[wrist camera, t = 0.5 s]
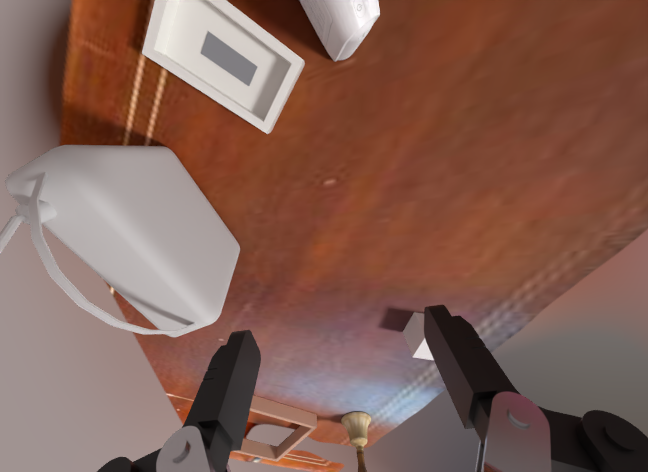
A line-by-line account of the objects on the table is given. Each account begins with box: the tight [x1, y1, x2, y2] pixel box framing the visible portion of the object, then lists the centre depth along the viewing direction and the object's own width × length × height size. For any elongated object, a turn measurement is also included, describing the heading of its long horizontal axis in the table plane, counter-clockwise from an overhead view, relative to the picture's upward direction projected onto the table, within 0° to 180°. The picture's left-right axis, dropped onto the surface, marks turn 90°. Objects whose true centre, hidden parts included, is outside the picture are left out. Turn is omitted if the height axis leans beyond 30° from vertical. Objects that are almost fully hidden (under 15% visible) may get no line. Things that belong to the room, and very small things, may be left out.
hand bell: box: [341, 412, 371, 472], centre depth 60 cm, size 8×8×16 cm
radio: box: [0, 145, 240, 337], centre depth 26 cm, size 22×8×25 cm, turn 24°
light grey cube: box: [403, 312, 434, 360], centre depth 48 cm, size 6×6×6 cm
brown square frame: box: [233, 395, 317, 462], centre depth 65 cm, size 22×22×3 cm
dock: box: [142, 0, 305, 134], centre depth 28 cm, size 9×15×3 cm, turn 57°
